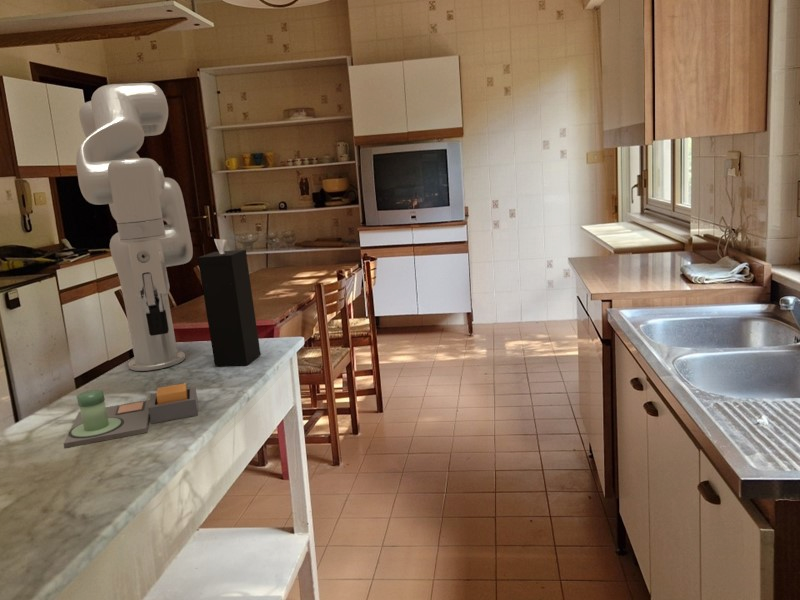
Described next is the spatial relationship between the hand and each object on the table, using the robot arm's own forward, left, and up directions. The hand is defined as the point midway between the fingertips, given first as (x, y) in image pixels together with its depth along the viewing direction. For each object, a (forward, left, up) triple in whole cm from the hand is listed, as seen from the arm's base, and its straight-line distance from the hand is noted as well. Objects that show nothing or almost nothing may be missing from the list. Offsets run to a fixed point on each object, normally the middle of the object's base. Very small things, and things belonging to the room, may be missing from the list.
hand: (159, 333), depth 122 cm
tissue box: (-28, +13, -15) cm, 35 cm away
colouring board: (0, -11, -15) cm, 18 cm away
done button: (0, 0, -13) cm, 13 cm away
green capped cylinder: (+3, -13, -14) cm, 19 cm away
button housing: (0, 0, -15) cm, 15 cm away
